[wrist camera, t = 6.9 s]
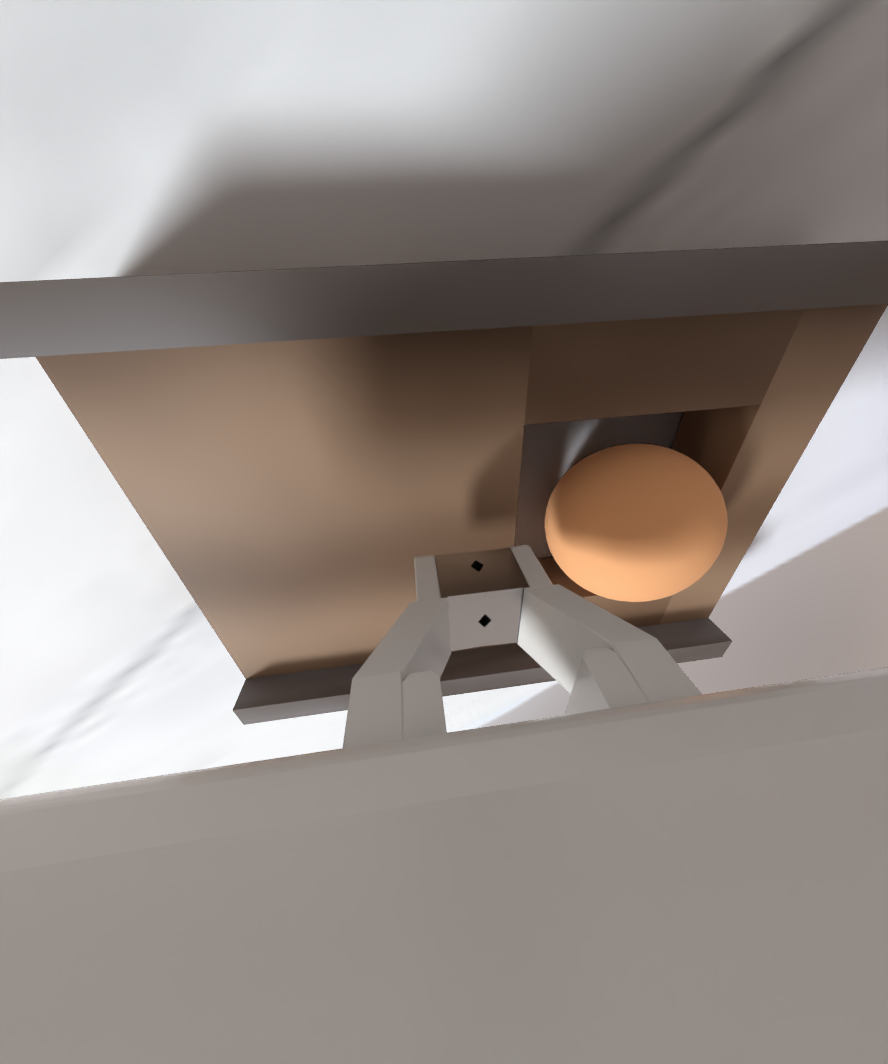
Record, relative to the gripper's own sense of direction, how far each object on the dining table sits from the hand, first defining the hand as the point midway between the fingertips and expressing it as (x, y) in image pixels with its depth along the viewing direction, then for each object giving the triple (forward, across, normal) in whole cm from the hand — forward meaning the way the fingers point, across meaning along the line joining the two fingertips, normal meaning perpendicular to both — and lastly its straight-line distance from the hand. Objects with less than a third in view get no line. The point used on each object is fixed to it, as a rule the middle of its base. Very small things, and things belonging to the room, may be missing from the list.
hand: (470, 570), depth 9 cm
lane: (+4, -1, 0) cm, 4 cm away
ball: (+2, -5, 0) cm, 6 cm away
